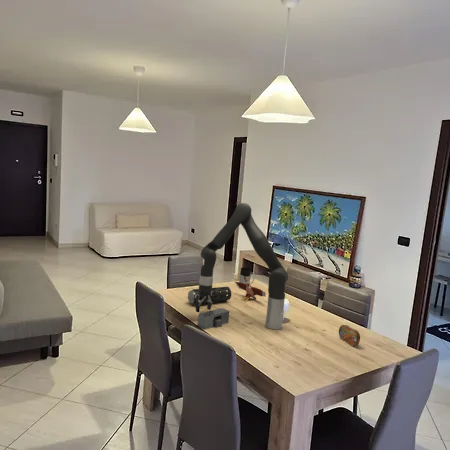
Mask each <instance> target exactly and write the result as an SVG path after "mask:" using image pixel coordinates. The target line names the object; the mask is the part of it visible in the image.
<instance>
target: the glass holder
mask: <svg viewBox="0 0 450 450" xmlns="http://www.w3.org/2000/svg"><path fill="white" fill-rule="evenodd" d="M251 270H252V269H251V268H249V267H240V272H239V281H238V282H241V283H244V284H246V282H245V280H244V277H246V278H247V280H248V282H249V285H250V286H251V285H252V284H253V283H254V281H255V277H256V276H255V273H254V272H252V271H251ZM252 274H253V280H252V282H251V277H252ZM237 288H238V289H239V290H242V291H244V290H243V289H241V288H239V287H238V286H237Z"/></svg>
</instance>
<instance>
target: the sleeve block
mask: <svg viewBox="0 0 450 450" xmlns="http://www.w3.org/2000/svg"><path fill="white" fill-rule="evenodd" d="M197 317H198V318H197V327H199V328H202V329H203V330H208V329H211V328H214V326H213V322H214V317H217V318H219V319H221V320H222V326H223V325H225V324H226V325H227V324H229V321H230V320H229V318H230V310H228V309H225V308H222V307H220V308H216V309H211V310H207V312H203V313H200V312H198V316H197Z"/></svg>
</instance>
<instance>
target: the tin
mask: <svg viewBox="0 0 450 450" xmlns="http://www.w3.org/2000/svg"><path fill="white" fill-rule="evenodd" d="M338 336H339V338H340V340H341V339H342V341H343V342H344V341H345V343H347V344H348V345H349V346H351V347H352V346H353V347H354V346H356V347H357V346H358V345H359V344H360V341H361V335H360V332H359V331H358V330H357V329H355V328H353V327H352V326H350V325H348V324H341V325H340V326H339V329H338Z"/></svg>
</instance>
